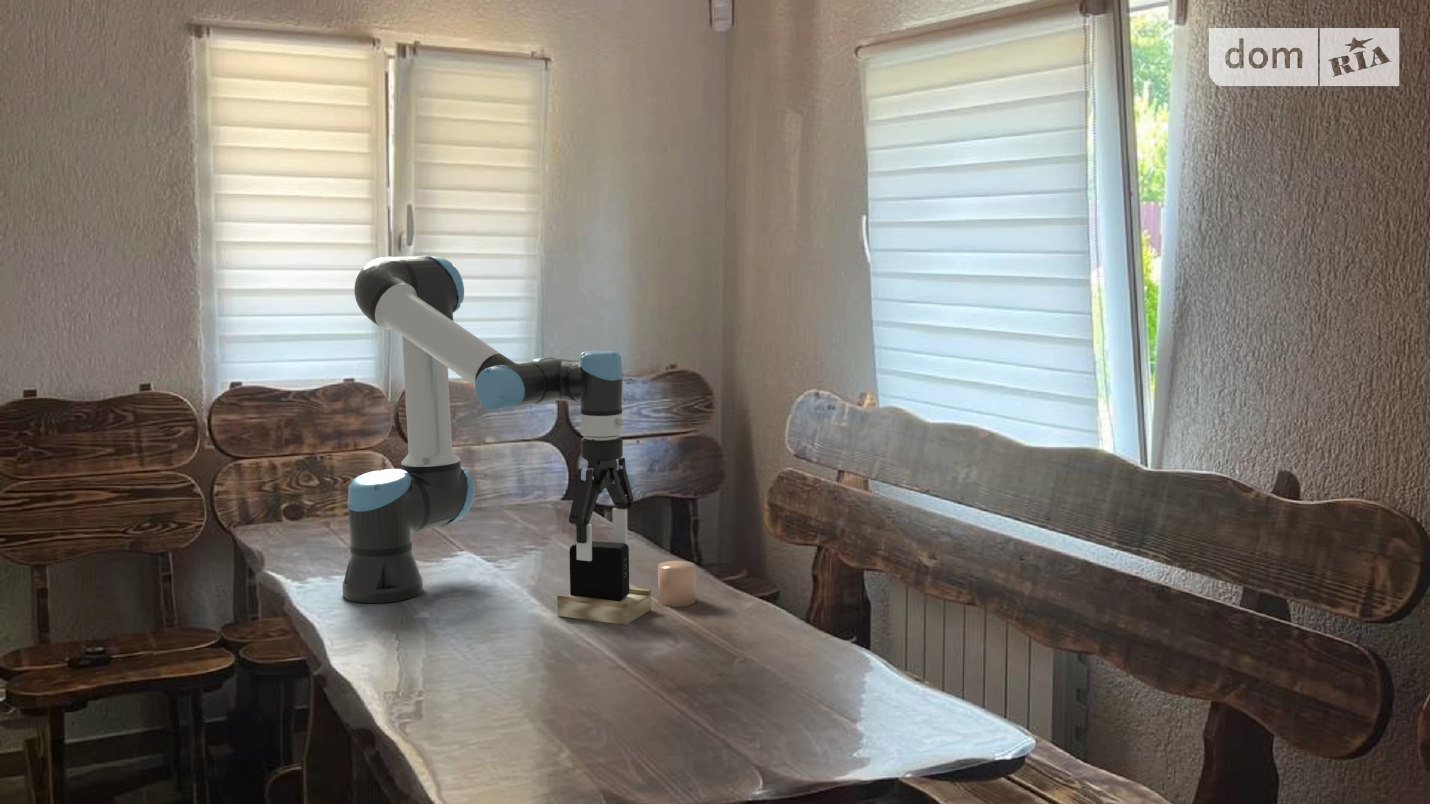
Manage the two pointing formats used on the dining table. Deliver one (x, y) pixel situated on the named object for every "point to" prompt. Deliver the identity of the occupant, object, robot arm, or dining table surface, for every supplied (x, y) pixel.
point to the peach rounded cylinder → (676, 583)
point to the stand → (606, 607)
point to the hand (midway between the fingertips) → (602, 551)
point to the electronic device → (601, 572)
